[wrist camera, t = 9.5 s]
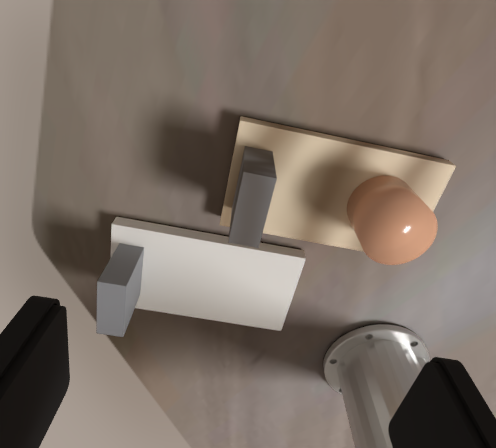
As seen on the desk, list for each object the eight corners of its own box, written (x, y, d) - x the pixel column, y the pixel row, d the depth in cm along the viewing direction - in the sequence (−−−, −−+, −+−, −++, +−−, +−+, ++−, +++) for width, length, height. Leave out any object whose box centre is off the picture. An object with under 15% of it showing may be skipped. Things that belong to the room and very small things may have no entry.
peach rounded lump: (424, 182, 33) (450, 207, 29) (397, 239, 36) (418, 270, 32) (359, 169, 33) (376, 193, 28) (337, 228, 35) (350, 258, 31)
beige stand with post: (448, 160, 34) (495, 195, 27) (403, 251, 38) (434, 299, 32) (240, 116, 32) (237, 142, 25) (220, 217, 37) (214, 261, 30)
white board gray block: (304, 250, 38) (314, 298, 32) (280, 321, 43) (285, 376, 37) (116, 216, 37) (87, 260, 30) (113, 294, 41) (87, 347, 35)
